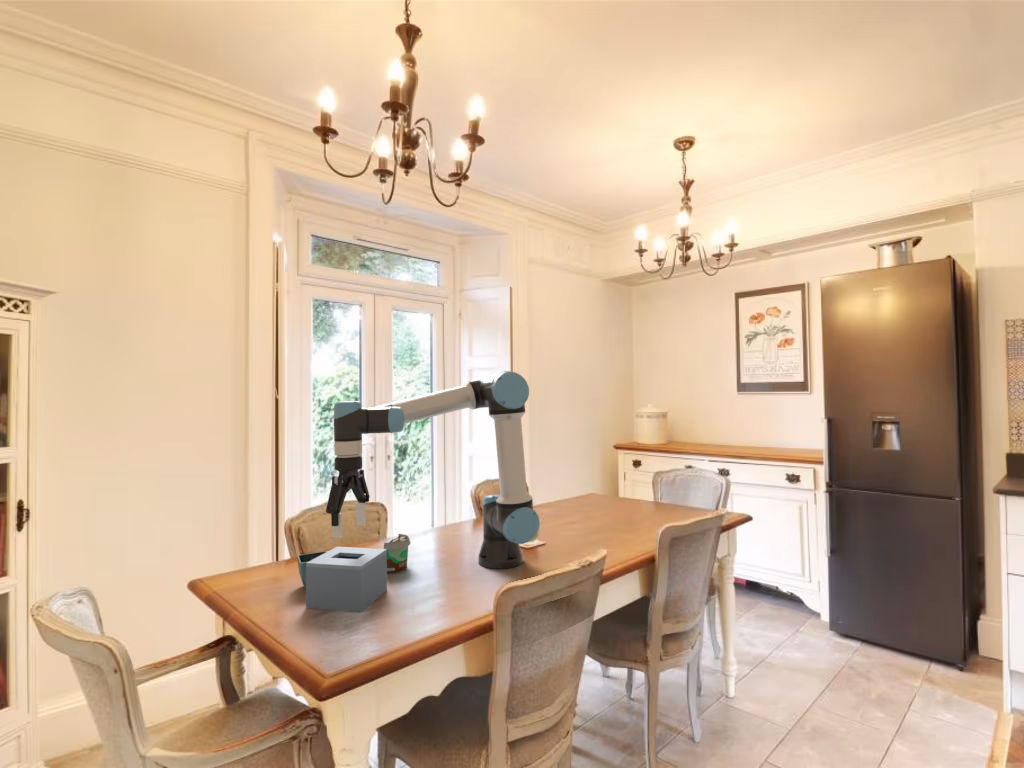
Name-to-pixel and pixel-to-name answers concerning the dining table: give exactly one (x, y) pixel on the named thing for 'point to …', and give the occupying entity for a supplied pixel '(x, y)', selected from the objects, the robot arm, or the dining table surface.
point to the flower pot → (302, 564)
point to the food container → (397, 553)
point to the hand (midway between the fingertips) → (349, 531)
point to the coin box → (346, 578)
